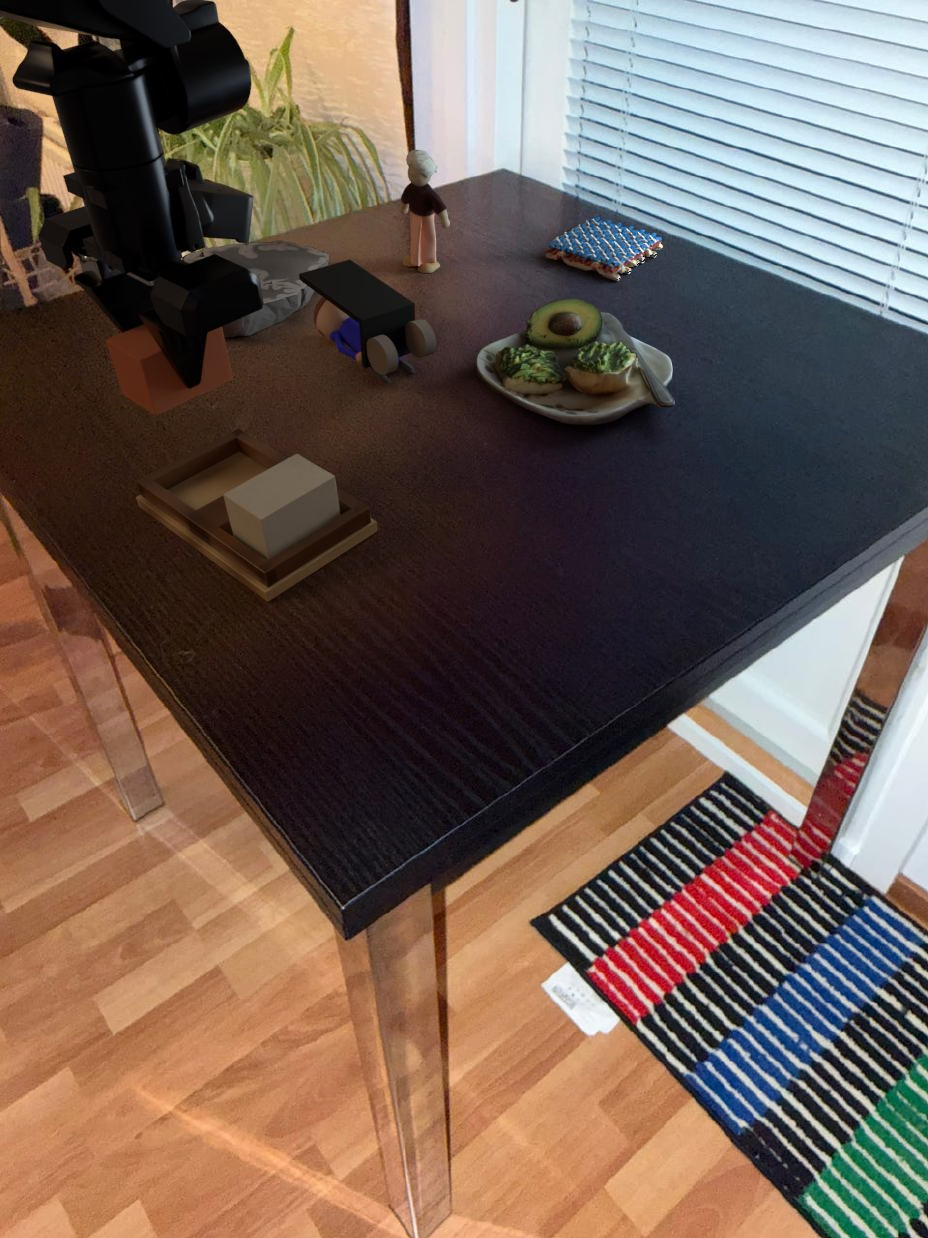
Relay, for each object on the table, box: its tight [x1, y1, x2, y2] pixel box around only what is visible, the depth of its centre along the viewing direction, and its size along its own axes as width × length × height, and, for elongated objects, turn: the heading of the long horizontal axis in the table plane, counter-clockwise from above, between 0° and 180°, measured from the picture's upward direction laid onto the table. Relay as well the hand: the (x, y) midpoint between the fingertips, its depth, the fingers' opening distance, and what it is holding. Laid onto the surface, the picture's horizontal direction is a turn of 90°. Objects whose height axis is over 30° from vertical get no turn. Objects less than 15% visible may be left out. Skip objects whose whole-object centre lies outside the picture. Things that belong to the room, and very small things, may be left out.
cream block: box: [223, 453, 340, 560], centre depth 70 cm, size 7×4×4 cm, turn 137°
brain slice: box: [181, 240, 330, 339], centre depth 101 cm, size 20×17×3 cm
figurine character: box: [299, 259, 437, 385], centre depth 90 cm, size 7×8×15 cm
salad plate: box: [475, 298, 676, 426], centre depth 87 cm, size 19×18×5 cm
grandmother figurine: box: [399, 149, 451, 274], centre depth 103 cm, size 8×4×13 cm, turn 57°
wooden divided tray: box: [135, 428, 378, 603], centre depth 74 cm, size 17×11×2 cm, turn 47°
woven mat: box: [545, 216, 664, 282], centre depth 108 cm, size 10×11×2 cm
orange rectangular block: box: [105, 324, 234, 417], centre depth 69 cm, size 7×4×4 cm, turn 137°
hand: (175, 375), depth 70 cm, fingers closed on orange rectangular block, 4 cm apart
